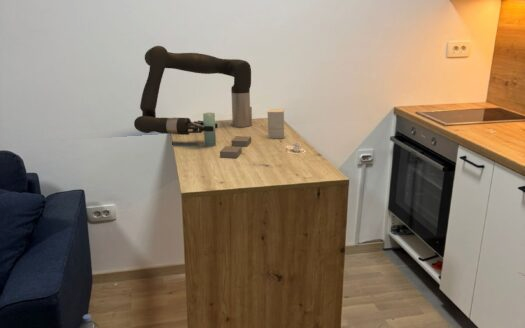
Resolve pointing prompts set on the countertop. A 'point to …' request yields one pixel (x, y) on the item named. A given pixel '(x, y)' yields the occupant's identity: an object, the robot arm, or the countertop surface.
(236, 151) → the rectangular blocks
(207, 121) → the teal green tall block
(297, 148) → the teacup and saucer
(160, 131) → the robot arm
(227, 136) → the countertop surface
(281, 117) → the supplement box
